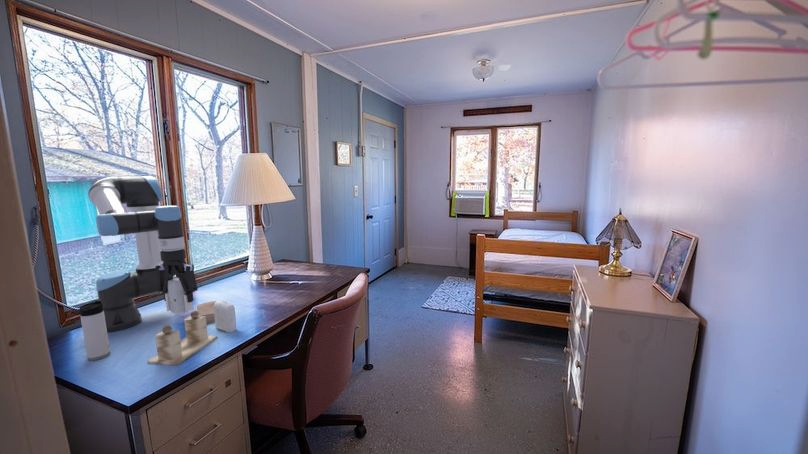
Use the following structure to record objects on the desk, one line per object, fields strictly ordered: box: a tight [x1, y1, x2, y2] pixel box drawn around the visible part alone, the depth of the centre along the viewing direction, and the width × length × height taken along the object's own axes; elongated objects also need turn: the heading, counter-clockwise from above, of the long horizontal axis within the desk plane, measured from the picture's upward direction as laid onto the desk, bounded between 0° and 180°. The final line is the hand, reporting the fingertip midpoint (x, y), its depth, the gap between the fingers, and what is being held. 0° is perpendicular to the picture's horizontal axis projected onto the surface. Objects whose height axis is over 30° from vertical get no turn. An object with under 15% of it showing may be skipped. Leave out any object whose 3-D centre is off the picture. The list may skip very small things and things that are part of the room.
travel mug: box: [78, 300, 111, 361], centre depth 123 cm, size 6×7×20 cm
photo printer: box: [214, 300, 237, 333], centre depth 144 cm, size 10×4×12 cm, turn 60°
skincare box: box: [168, 277, 187, 316], centre depth 124 cm, size 6×4×12 cm
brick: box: [196, 300, 218, 324], centre depth 158 cm, size 17×8×5 cm, turn 32°
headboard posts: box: [146, 310, 218, 366], centre depth 127 cm, size 12×20×13 cm, turn 171°
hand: (180, 309), depth 125 cm, fingers closed on skincare box, 7 cm apart
